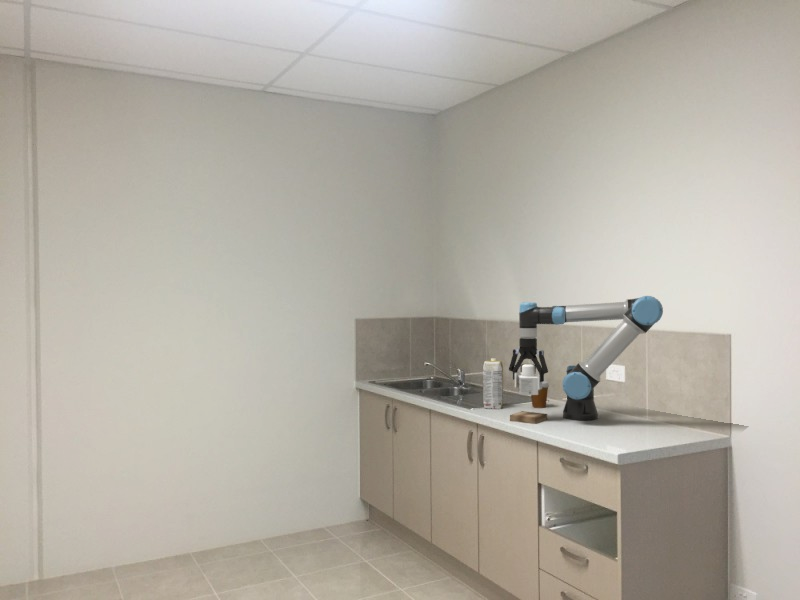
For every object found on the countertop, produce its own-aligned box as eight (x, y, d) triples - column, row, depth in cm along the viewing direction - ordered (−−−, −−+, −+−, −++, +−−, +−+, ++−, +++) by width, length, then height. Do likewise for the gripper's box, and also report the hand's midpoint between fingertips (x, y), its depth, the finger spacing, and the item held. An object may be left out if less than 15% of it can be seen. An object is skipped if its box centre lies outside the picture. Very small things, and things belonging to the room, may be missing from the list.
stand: (547, 419, 307) (547, 413, 307) (535, 423, 298) (535, 417, 298) (522, 416, 315) (522, 410, 315) (509, 420, 305) (509, 414, 305)
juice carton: (503, 407, 341) (503, 357, 340) (501, 409, 333) (501, 359, 333) (484, 406, 343) (484, 357, 343) (482, 409, 336) (482, 359, 335)
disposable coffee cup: (525, 405, 344) (525, 381, 343) (543, 405, 346) (543, 380, 346) (534, 409, 334) (534, 384, 334) (552, 408, 337) (552, 383, 336)
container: (518, 392, 310) (518, 363, 310) (535, 392, 310) (535, 363, 310) (520, 395, 302) (520, 365, 302) (538, 395, 302) (538, 365, 302)
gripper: (556, 338, 302) (556, 389, 302) (508, 336, 316) (508, 385, 316) (548, 339, 296) (548, 391, 296) (500, 337, 309) (500, 387, 310)
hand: (528, 388), depth 306 cm, fingers closed on container, 10 cm apart
